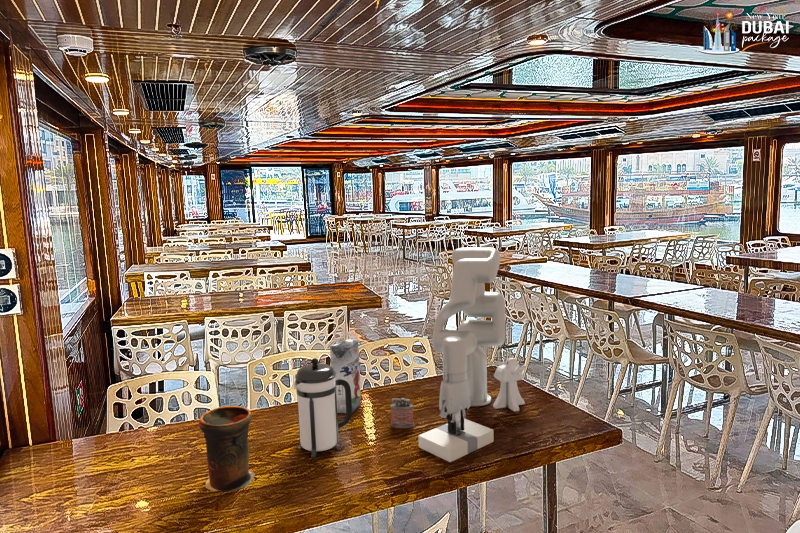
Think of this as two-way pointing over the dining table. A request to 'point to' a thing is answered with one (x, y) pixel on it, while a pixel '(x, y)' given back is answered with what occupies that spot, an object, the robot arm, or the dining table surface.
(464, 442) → the clevis block
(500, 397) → the toy gun turret
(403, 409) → the lighter
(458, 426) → the steel pin
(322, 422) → the coffee press
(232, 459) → the vessel
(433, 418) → the dining table surface
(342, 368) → the juice carton
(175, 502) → the dining table surface
